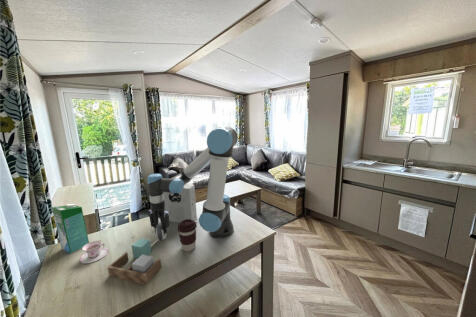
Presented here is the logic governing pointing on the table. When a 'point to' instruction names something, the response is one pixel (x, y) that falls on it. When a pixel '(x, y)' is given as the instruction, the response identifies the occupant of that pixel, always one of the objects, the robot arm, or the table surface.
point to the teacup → (93, 252)
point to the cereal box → (181, 204)
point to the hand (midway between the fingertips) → (161, 237)
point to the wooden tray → (132, 275)
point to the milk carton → (70, 227)
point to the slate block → (142, 263)
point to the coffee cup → (187, 234)
